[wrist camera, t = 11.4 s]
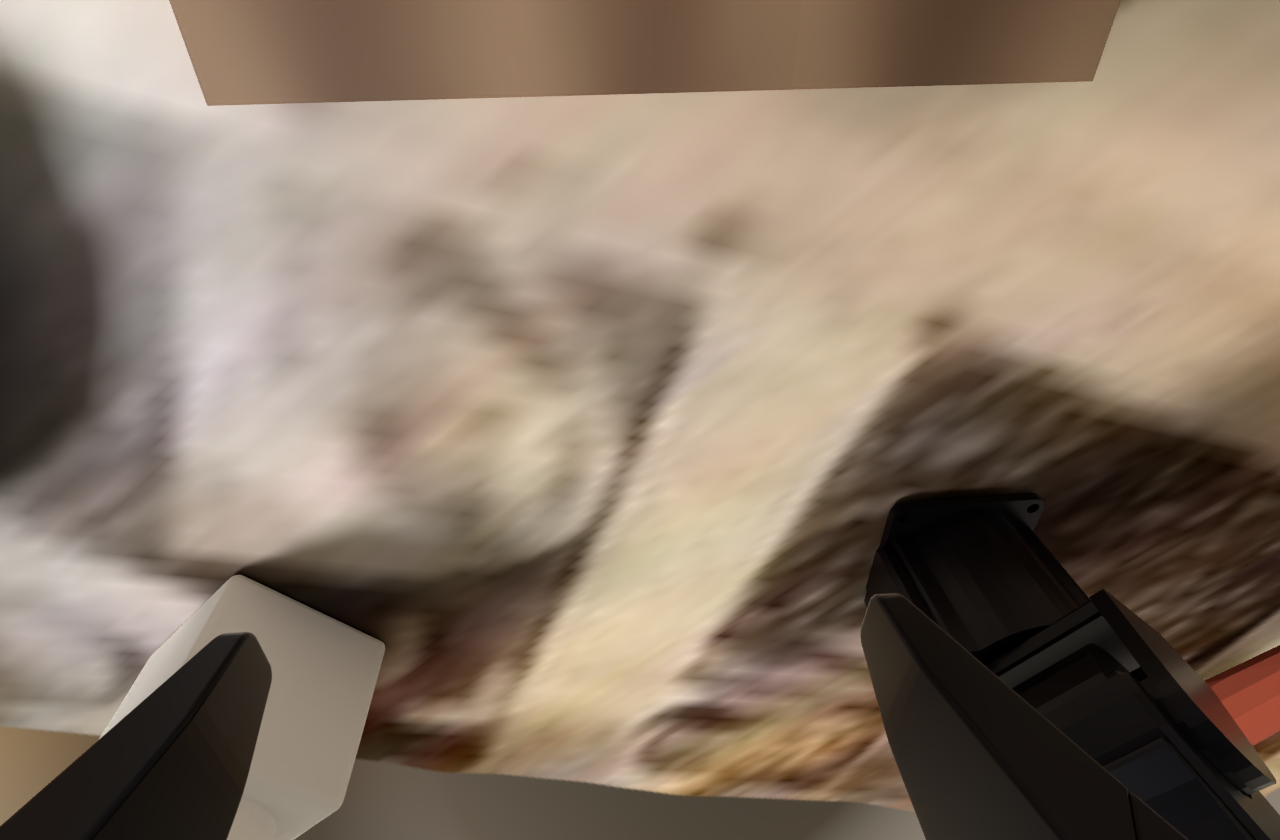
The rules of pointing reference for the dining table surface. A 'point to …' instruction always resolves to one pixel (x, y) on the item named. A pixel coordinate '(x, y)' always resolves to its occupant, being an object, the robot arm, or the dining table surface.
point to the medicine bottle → (284, 702)
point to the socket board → (626, 46)
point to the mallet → (1252, 694)
